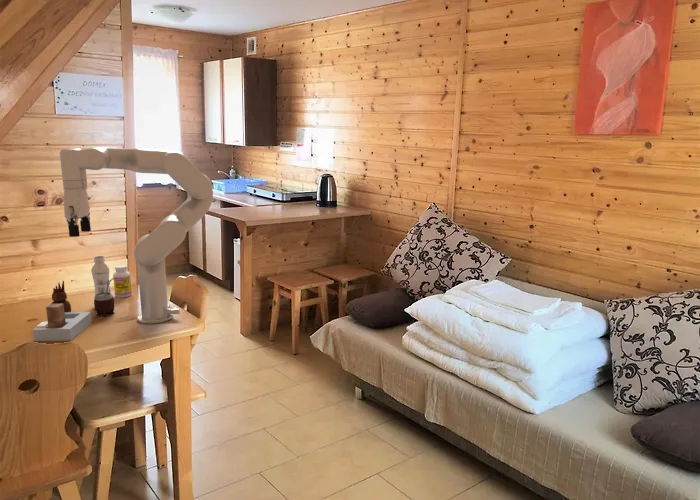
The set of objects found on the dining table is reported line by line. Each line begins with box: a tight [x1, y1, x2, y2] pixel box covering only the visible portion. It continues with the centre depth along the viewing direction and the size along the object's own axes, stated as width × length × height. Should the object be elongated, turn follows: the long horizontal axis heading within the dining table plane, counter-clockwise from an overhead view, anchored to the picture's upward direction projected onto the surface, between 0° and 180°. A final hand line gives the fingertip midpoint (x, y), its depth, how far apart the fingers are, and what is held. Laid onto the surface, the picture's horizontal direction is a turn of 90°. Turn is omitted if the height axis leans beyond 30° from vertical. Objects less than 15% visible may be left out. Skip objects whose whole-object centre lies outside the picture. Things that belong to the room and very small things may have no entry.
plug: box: [45, 303, 66, 328], centre depth 193 cm, size 4×4×10 cm
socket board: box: [32, 311, 93, 342], centre depth 199 cm, size 12×18×5 cm, turn 3°
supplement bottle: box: [112, 264, 133, 299], centre depth 240 cm, size 7×7×13 cm
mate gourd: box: [93, 277, 115, 318], centre depth 215 cm, size 8×8×15 cm
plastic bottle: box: [90, 255, 112, 299], centre depth 225 cm, size 6×7×20 cm
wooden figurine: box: [50, 280, 72, 312], centre depth 209 cm, size 7×6×15 cm
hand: (80, 233), depth 199 cm, fingers open, 9 cm apart
